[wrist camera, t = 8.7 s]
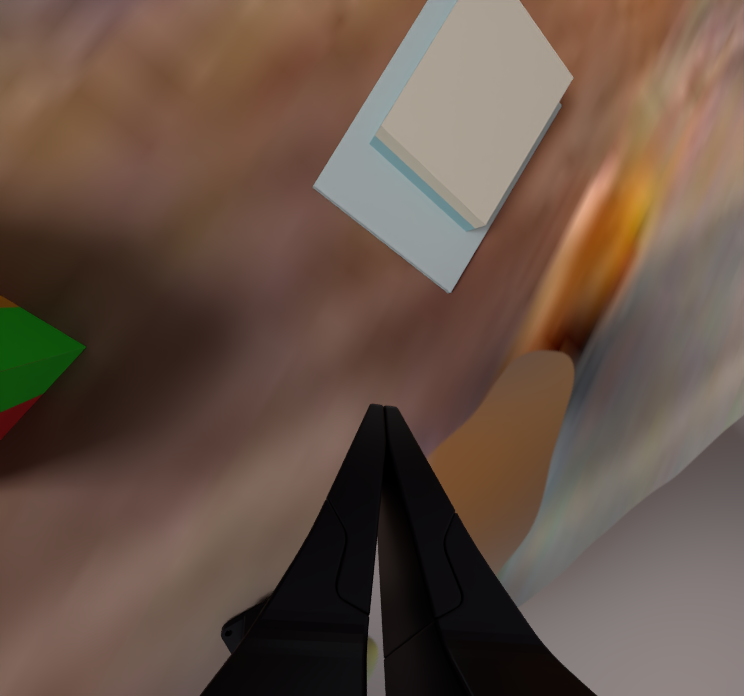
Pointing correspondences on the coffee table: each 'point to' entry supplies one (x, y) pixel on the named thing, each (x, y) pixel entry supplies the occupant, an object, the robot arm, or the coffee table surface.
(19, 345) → the puzzle toy
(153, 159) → the coffee table surface
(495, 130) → the tile
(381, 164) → the mat
